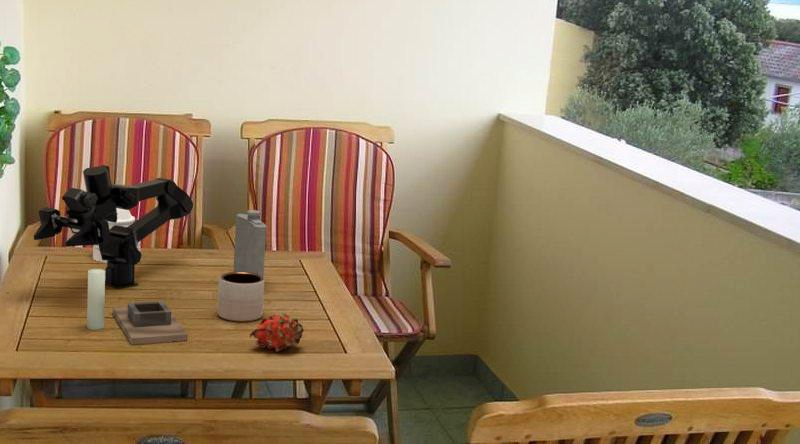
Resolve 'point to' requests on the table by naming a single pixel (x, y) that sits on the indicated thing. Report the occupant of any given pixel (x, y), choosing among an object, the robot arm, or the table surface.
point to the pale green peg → (96, 299)
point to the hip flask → (249, 243)
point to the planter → (240, 296)
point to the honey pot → (122, 220)
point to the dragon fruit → (278, 332)
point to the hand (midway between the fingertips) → (50, 241)
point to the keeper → (149, 323)
